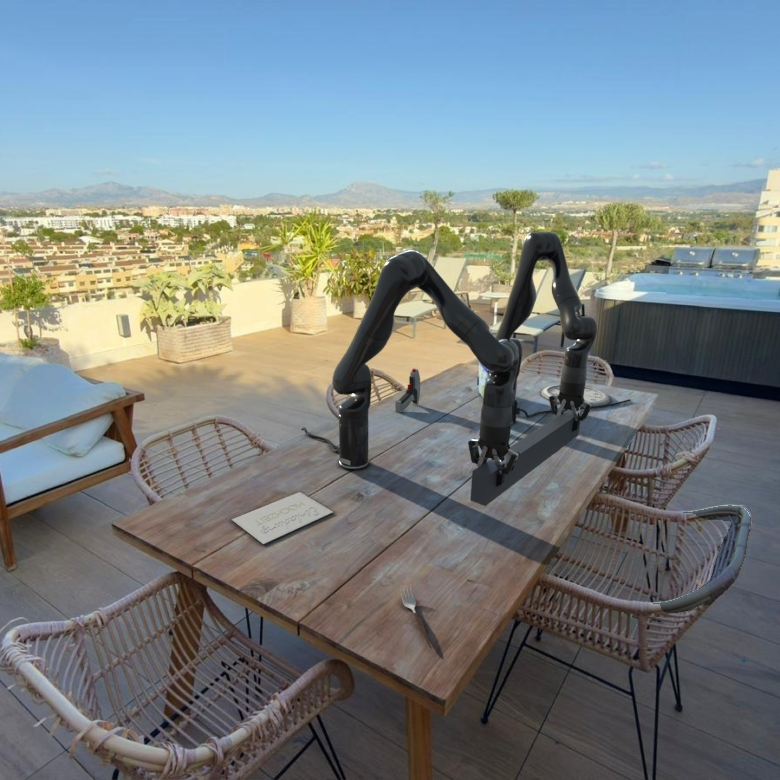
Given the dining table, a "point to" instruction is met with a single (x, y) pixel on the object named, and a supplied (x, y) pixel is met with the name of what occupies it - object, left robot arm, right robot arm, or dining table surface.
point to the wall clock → (589, 395)
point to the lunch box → (482, 378)
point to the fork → (411, 605)
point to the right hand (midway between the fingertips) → (566, 428)
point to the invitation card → (281, 517)
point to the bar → (523, 457)
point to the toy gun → (410, 392)
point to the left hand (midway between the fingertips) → (490, 482)
